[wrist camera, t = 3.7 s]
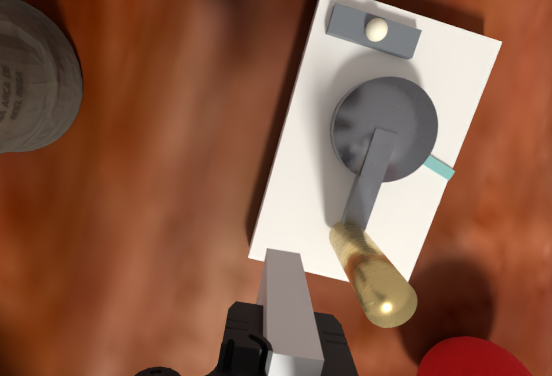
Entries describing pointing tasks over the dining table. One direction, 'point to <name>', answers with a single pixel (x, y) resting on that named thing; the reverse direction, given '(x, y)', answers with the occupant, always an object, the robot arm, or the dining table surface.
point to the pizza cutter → (378, 183)
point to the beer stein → (35, 79)
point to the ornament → (470, 359)
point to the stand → (317, 117)
